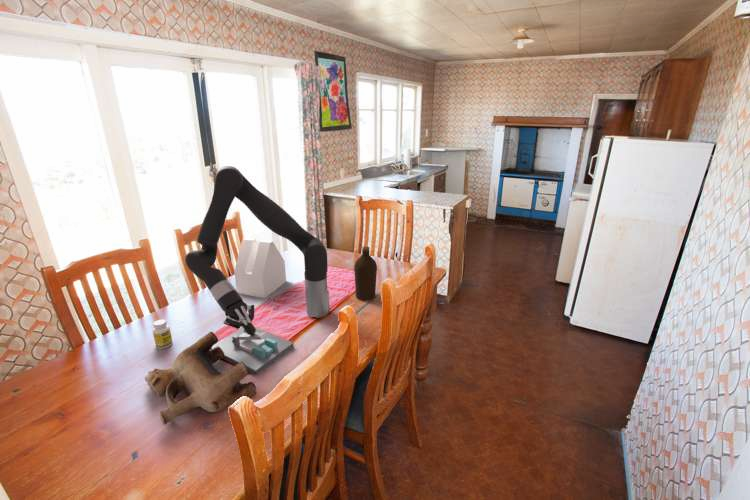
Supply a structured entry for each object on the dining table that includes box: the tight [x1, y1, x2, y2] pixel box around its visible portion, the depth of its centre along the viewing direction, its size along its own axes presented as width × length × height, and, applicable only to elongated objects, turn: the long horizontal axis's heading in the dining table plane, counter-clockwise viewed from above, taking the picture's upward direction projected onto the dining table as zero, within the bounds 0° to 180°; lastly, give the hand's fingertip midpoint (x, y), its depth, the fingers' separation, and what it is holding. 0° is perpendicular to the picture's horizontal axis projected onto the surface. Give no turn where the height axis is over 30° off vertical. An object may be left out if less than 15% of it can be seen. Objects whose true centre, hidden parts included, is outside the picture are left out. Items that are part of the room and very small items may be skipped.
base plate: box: [209, 325, 294, 376], centre depth 130 cm, size 18×24×6 cm
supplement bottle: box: [152, 319, 173, 350], centre depth 131 cm, size 5×5×10 cm
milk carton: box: [233, 237, 287, 299], centre depth 174 cm, size 19×15×25 cm
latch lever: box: [239, 331, 268, 340], centre depth 129 cm, size 3×1×13 cm
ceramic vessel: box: [144, 331, 257, 425], centre depth 109 cm, size 13×31×25 cm
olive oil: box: [353, 246, 378, 301], centre depth 166 cm, size 11×11×25 cm
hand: (253, 333), depth 128 cm, fingers closed
